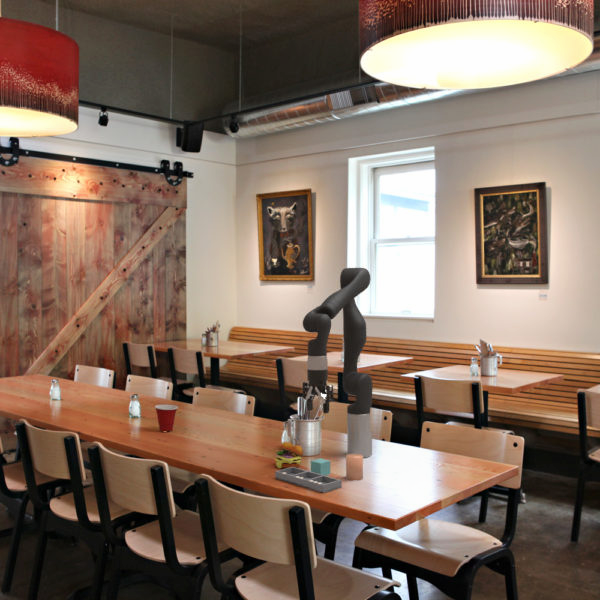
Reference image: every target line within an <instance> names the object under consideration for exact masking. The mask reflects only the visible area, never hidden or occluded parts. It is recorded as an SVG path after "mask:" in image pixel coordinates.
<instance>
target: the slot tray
mask: <svg viewBox="0 0 600 600" xmlns="http://www.w3.org/2000/svg"><path fill="white" fill-rule="evenodd" d="M274 475H275V476H274V478H275V480H279V481H283V482H286V483H288V484H292V485H296V486H298V487H299V486H300V487H303V488H305V489H309V490H312V491H315V492H319V493H321V492H323V493H322V494H325V492H326V493H329V492H332V491H335V489H336V490H339V489H341V488H342V484H343V481H342V479H338V478H335V477H331V476H329V475H326V476H325V475H321V474H318V473H314V472H311V470H306V469H303V468H300V467H290V468H281V469H279V470H275V472H274ZM338 488H339V489H338Z"/></svg>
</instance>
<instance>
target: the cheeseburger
mask: <svg viewBox="0 0 600 600" xmlns="http://www.w3.org/2000/svg"><path fill="white" fill-rule="evenodd" d="M280 450H281V451H280ZM275 454H276V455H275V458H274V461H275V466H276V467H277V469H279V470H281V469H286V468H290V467H296V468H299V467H300V464H301V461H302V460H301V459H302V456H304V450H303V447H302V446H301V445H298V444H292V443H291V442H288V441H284V442H282V443H281V444H280V446H279V450H278V451H276V453H275Z"/></svg>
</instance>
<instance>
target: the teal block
mask: <svg viewBox="0 0 600 600" xmlns="http://www.w3.org/2000/svg"><path fill="white" fill-rule="evenodd" d="M310 472H314V473H318V474H321V475H325V476H329V475H331V460H329V459H325V458H316V459H313V460H310Z"/></svg>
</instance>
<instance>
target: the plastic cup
mask: <svg viewBox="0 0 600 600" xmlns="http://www.w3.org/2000/svg"><path fill="white" fill-rule="evenodd" d="M154 408H155V411H156V417H157V422H158V426H159V431H171V430H172V431H174V424H175V418H176V417H175V416H176V412H177V410H178V409H179V407H178V405H174V404H157V405H155V406H154ZM172 431H171V432H172Z"/></svg>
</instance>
